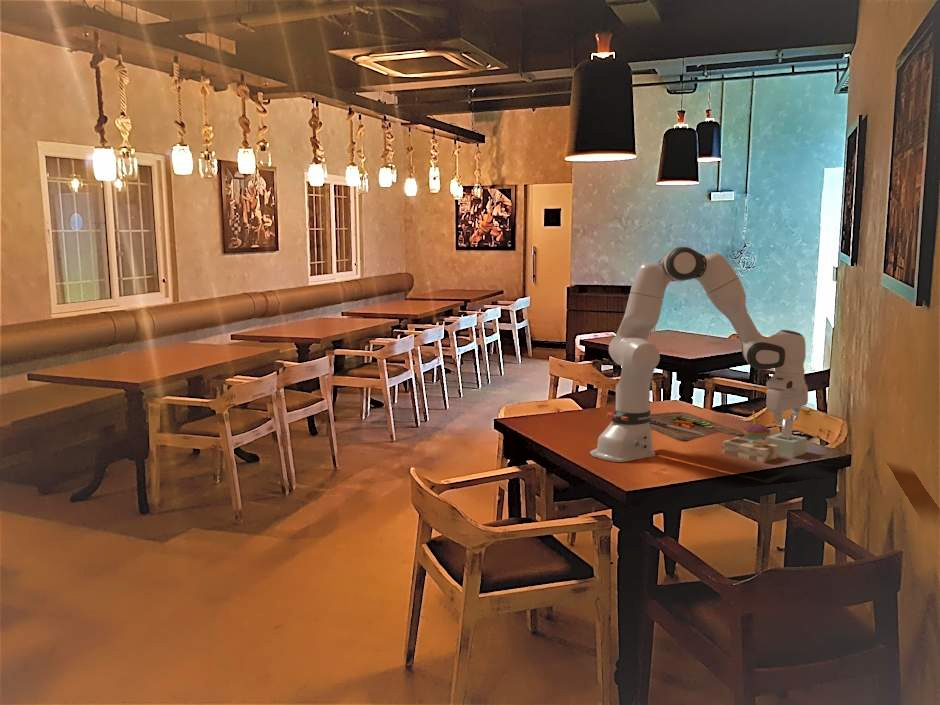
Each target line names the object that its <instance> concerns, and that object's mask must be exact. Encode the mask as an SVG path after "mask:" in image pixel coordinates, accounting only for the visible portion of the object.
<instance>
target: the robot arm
mask: <svg viewBox="0 0 940 705" xmlns="http://www.w3.org/2000/svg"><path fill="white" fill-rule="evenodd" d="M693 279H695V280H696V281H697V282H699V284H700V285H701V286H702V288H703V290H704V292H705V293H706V295H707V297H708V299H709V301H710V302H711V304H713V305H714V307H715V309H717V310H718V311H719V312H720V313H721V314H723V315H724V316H725V317H726V318H727V320H728V321H729V322H730V323H731V326H732V327H733V329H734V332H736V333H735V334H736V335H737V336H738V338H739V340H740V343H741V353H742V357H743V359H744V361H746V363H747V364H748V365H749V366H751V367H752V368H753V369H755V370H759V371H765V370H773V369H774V374H773V375H772V376H771V377H770V378H769V379H768V380H766V388H768V389H767V391H766V398H765V399H766V410H767V412H770V413H773V415H774V418H775V425H779V426H780V425H781V426H782V424H783V419H784V418H783V417H782V415H783V412H785V411H788V410H789V411H790V410H792V413H791V414H790V418H789V419H792V420H793V422H795V421H798V419H799V413H800V412H801V407H804V406H807V404H808V401H809V390H808V389H809V388H808V385H807V384H806V379H805V368H804V366H805V365H804V364H805V361H806V351H807V350H806V349H807V347H806V339H805V337H804V336H803V334H801V333H800V332H797V331H794V330H790V329H789V330H788V329H781V330H779V331H778V332H775V333H774V334H772V335H770V336H767V337H766V336H764V335H762V334H761V332H760V331H758V328H757V327H756V325H755V323H754V322H753V320H752V318H751V316H750V315H749V312H748V310H747V305H746V303H747V301H746V299H747V295H746V292H745V288H744V286H743V284H742V282H741V280H740V278H739V276H738V275H737V273H736V272H735V270H734V268H733V267H732V265H731V264H730V262H729V261H728V260H727V259H726V258H725V257H724V255H722V254H721V253H719V252H710V253H707V254H705V255H703V254H701V253H700V252H698V251H697V250H695V249H694V248H691V247H689V246H677V247H674V248H672V249H670V250H669V251H667V253H666V254H665V255H663V256H662V258H661V259H660V260H659V261H658V262H652V261H651V262H648V261H647V262H644V263H642V264H641V265H639V267H638V268H637V271H636V273H635V276H634V277H633V281H632V284H631V287H630V292H629V294H628V299H627V302H626V303H627V304H626V308H625V312H624V315H623V318H622V320H621V323H620V325H619V326H618V330H617V331H616V334H615V336H614V337H613V338H612V339H611V341H610V342H609V345H608V354H609V356H610V357H611V360H613V362H614V363H615V364H617V365H618V366H621V373H620V375H619V376H620V377H619V381H618V383H617V384H616V387H615V409H614V410H613V412H607V413H606V418H607V419H611V422H610V423H609V425H608V426H607V427H606V428H604V431H603V432H602V433H601V434H600V435H599V436H598V438H597V445H596V446H597V447H596V448H594V449H593V450H590V452H589V454H591V455H590V456H592V457H594V458H596V457H597V459H601V460H602V461H603V460H604V461H609V462H614V463H615V462H616V463H625V462H630V461H635V460H636V461H637V460H641V459H646V458H652V457H656V451H655V450H654V440H653V430H652V429H651V428H650V425H649V422H650V417H651V415H650V414H651V410H650V395H651V394H650V389H651V383H652V379H653V377H654V376H653V375H654V372H655V369H656V368H657V366H658V365H659V363H660V361H661V360H660V359H661V356H660V355H661V354H660V351H659V349H658V347H657V346H656V345H655V344H653V342H651V341H650V340H648V339H649V337H650V334H651V333H652V330H653V329H654V327H655V326H656V325H658V322H659V319H660V316H661V315H660V314H661V310H662V307H663V304H664V303H663V302H664V298H665V293H666V290H667V287H668V286H669V284H670V283H671V282H685V281H689V280H693Z"/></svg>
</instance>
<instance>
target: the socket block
mask: <svg viewBox="0 0 940 705" xmlns="http://www.w3.org/2000/svg"><path fill="white" fill-rule="evenodd" d="M752 441H755V440H750V439H747V438H744V437H741V436H735V437H733V438H732V437H731V438H730V439H727V440H723V441H722V444H721V454H723V455H727V456H729V457H730V456H731V457H736V458H740V459H745V460H749V461H752V462H753V461H754V462H757V463H762V464H763V463H767V462H769V461H772V460H775V459H777V458H778V457H779V455H778V445H775V444H770V443H769V445H767V446H765V447H757V446H755V445H752Z"/></svg>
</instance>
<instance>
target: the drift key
mask: <svg viewBox="0 0 940 705" xmlns="http://www.w3.org/2000/svg"><path fill="white" fill-rule="evenodd" d="M766 440H767V439H765V440H761V439H758V440H755V441H752V445H755V446H757V447H765V446H767V445H769V443H770V441H766Z"/></svg>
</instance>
